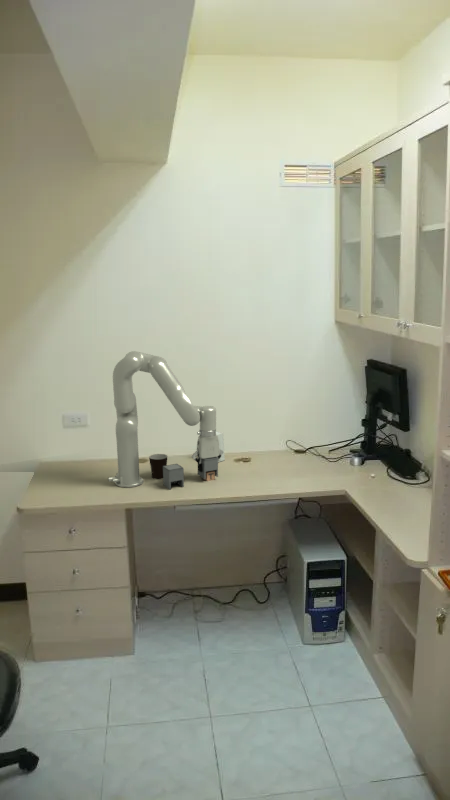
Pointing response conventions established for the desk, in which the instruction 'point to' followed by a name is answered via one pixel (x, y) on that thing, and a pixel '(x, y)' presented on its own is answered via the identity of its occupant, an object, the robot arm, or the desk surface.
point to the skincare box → (221, 445)
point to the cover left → (173, 475)
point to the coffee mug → (157, 465)
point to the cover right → (209, 466)
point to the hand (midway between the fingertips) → (207, 469)
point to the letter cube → (210, 475)
